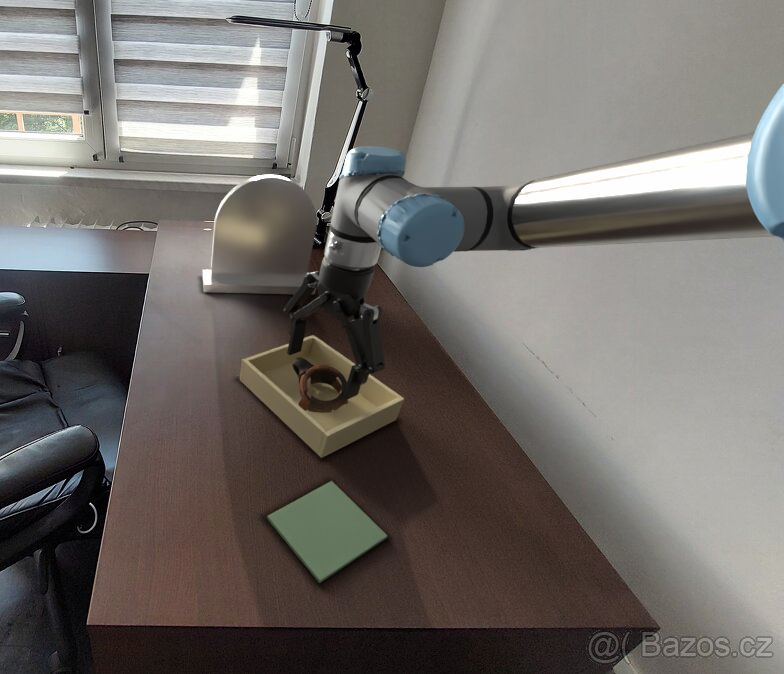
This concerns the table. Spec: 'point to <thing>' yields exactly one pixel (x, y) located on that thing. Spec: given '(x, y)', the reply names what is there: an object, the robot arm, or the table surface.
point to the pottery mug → (319, 376)
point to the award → (262, 238)
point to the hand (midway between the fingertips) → (320, 373)
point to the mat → (326, 530)
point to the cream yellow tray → (319, 396)
